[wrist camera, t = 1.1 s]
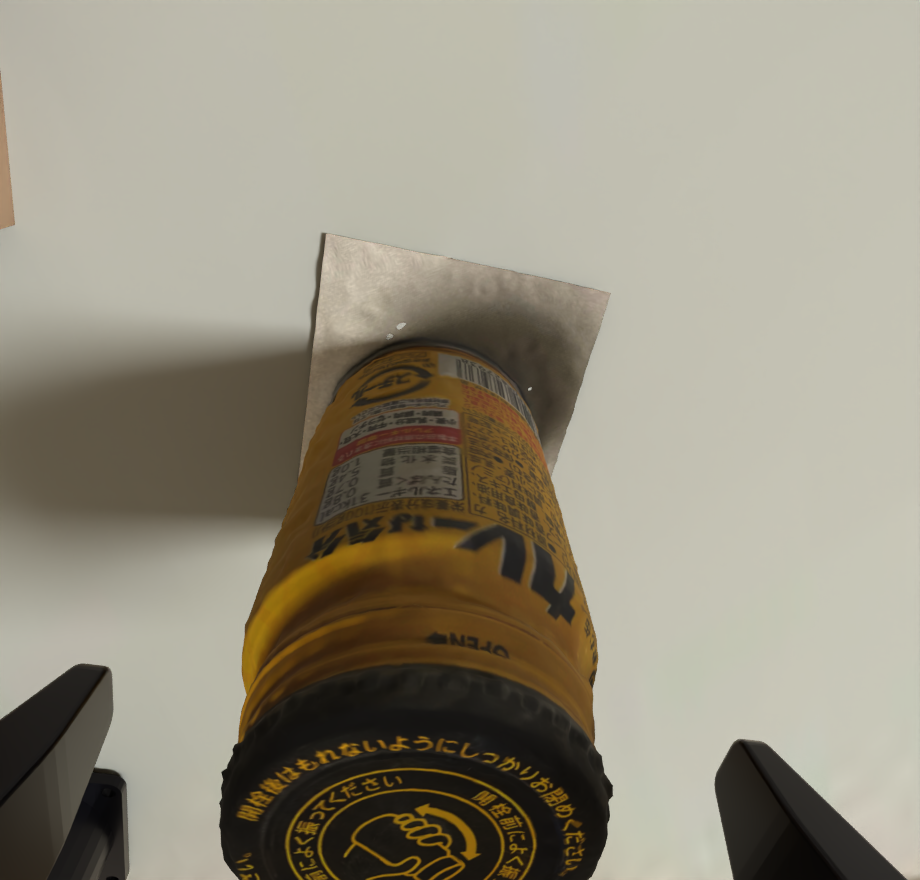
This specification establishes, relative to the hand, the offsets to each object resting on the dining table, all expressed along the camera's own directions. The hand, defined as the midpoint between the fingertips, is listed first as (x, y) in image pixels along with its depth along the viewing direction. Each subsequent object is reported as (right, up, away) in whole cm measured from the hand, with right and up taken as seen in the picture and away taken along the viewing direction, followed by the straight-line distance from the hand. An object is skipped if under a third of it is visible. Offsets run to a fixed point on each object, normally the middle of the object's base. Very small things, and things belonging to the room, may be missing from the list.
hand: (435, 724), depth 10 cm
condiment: (0, +5, +10) cm, 11 cm away
